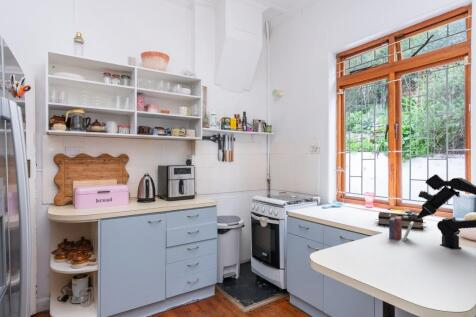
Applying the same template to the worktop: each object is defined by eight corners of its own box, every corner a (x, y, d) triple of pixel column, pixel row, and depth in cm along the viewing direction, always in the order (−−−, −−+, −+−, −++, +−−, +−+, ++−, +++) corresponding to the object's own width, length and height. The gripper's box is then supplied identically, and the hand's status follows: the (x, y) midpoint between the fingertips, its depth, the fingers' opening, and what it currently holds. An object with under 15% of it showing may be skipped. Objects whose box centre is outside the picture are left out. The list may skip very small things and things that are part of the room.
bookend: (406, 237, 156) (413, 222, 154) (404, 241, 149) (412, 224, 147) (404, 236, 156) (411, 221, 154) (402, 240, 150) (409, 223, 148)
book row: (401, 237, 157) (401, 216, 157) (399, 241, 151) (399, 219, 151) (391, 236, 160) (391, 215, 160) (389, 239, 154) (389, 217, 154)
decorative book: (376, 210, 204) (425, 214, 189) (376, 220, 204) (425, 225, 189) (374, 214, 187) (427, 219, 172) (374, 225, 187) (427, 231, 172)
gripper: (430, 184, 154) (408, 203, 160) (426, 186, 140) (402, 207, 146) (448, 199, 148) (425, 218, 155) (446, 203, 134) (421, 224, 141)
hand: (418, 216), depth 149 cm, fingers open, 9 cm apart
